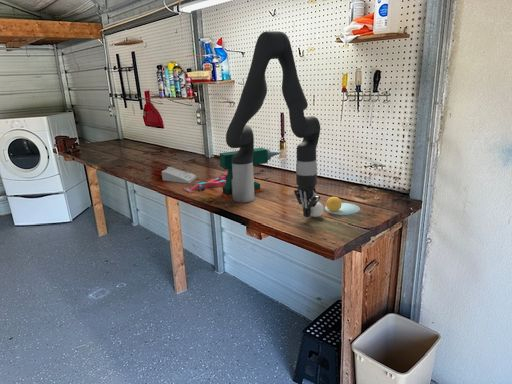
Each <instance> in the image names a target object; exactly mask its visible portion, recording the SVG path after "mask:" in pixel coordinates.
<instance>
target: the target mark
mask: <svg viewBox="0 0 512 384" xmlns="http://www.w3.org/2000/svg"><path fill="white" fill-rule="evenodd" d="M341 203H342V205H341V208H340V209H339V210H338V211H335V212H333V211H330V210H329V209H328V208H327V206H326V205H325V206H324V211H326V212H327V213H330V214H332V215H340V216H348V215H349V216H350V215H354V214H357V213H359V212H360V211H361V208H360V206H358V205H357V204H354V203H349V202H341Z"/></svg>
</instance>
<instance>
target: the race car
mask: <svg viewBox="0 0 512 384" xmlns="http://www.w3.org/2000/svg"><path fill="white" fill-rule="evenodd" d="M227 173H228V170H227V171H223V172H221V174H219V176H216V177H215V178H212V179H209V180H208V181H202V182H194V183H192V184H193V186H192V187H190V188H188V187H182V189H183V190H184V191H186V192H187V193H189V194H193V193H194V191H200V192H202V190H203V191H206V189H207V188H220V187H221V188H222V187H225V185H226V179H227Z"/></svg>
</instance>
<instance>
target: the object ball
mask: <svg viewBox="0 0 512 384" xmlns="http://www.w3.org/2000/svg"><path fill="white" fill-rule="evenodd" d="M342 203H343V202H342V201H341V199H340V198H339V197H337V196H331V197H329V198H328V199H327V201H326V204H325V206H327V208H328V209H329V210H330V211H333V212H335V211H338V210H339V209H340V208H341V205H342Z"/></svg>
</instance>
